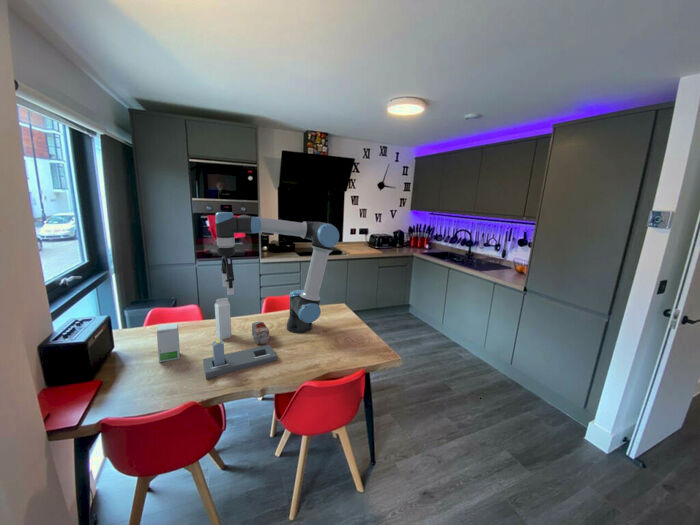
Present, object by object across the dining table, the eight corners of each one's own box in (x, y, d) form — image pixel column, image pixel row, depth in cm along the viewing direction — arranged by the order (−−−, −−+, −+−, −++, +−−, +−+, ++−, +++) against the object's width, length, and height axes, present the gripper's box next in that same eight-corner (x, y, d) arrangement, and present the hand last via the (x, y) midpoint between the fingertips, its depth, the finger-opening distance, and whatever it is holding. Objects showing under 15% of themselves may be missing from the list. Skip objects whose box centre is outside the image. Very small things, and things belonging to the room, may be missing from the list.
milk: (231, 337, 156) (230, 299, 152) (220, 340, 152) (218, 301, 148) (227, 333, 161) (225, 295, 156) (216, 336, 157) (214, 298, 152)
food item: (271, 344, 151) (271, 326, 149) (256, 347, 147) (255, 329, 145) (264, 333, 162) (263, 317, 160) (249, 336, 158) (249, 320, 156)
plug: (223, 363, 130) (222, 338, 128) (225, 368, 127) (223, 342, 124) (214, 366, 128) (212, 340, 125) (215, 370, 125) (213, 344, 122)
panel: (269, 349, 145) (269, 344, 144) (276, 361, 135) (276, 355, 134) (203, 365, 130) (203, 358, 129) (206, 379, 120) (205, 372, 119)
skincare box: (158, 362, 130) (155, 331, 127) (160, 355, 136) (157, 325, 132) (180, 358, 134) (177, 328, 130) (180, 352, 139) (178, 322, 136)
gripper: (213, 242, 140) (216, 284, 144) (221, 251, 119) (223, 299, 124) (230, 242, 144) (232, 282, 148) (240, 250, 123) (242, 297, 128)
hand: (228, 290), depth 136 cm, fingers open, 13 cm apart
